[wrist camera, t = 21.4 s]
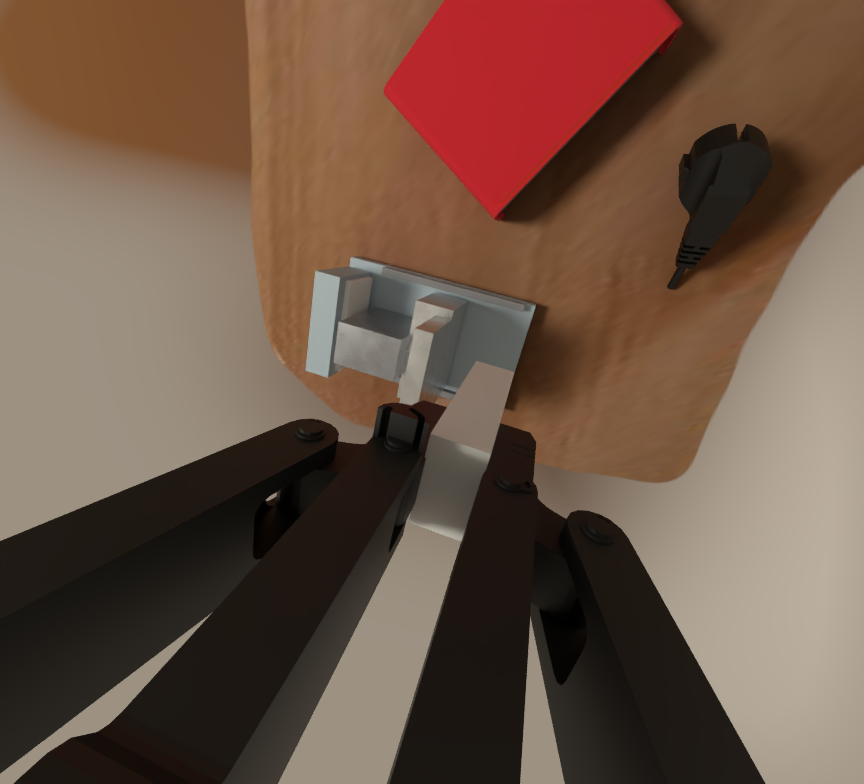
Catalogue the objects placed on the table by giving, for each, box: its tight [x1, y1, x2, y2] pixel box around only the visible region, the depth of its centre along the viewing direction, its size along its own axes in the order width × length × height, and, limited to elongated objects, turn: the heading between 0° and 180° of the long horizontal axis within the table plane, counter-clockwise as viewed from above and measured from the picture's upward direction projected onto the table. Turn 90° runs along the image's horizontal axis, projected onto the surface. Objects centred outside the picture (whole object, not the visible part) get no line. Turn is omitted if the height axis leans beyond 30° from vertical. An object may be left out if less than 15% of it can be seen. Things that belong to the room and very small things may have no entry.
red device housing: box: [384, 0, 683, 221], centre depth 34 cm, size 18×14×5 cm
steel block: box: [333, 307, 413, 382], centre depth 41 cm, size 4×6×9 cm, turn 77°
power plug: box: [667, 124, 772, 289], centre depth 34 cm, size 6×8×12 cm
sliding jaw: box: [397, 292, 468, 405], centre depth 38 cm, size 10×4×12 cm, turn 167°
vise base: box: [306, 257, 536, 400], centre depth 42 cm, size 12×20×8 cm, turn 77°
